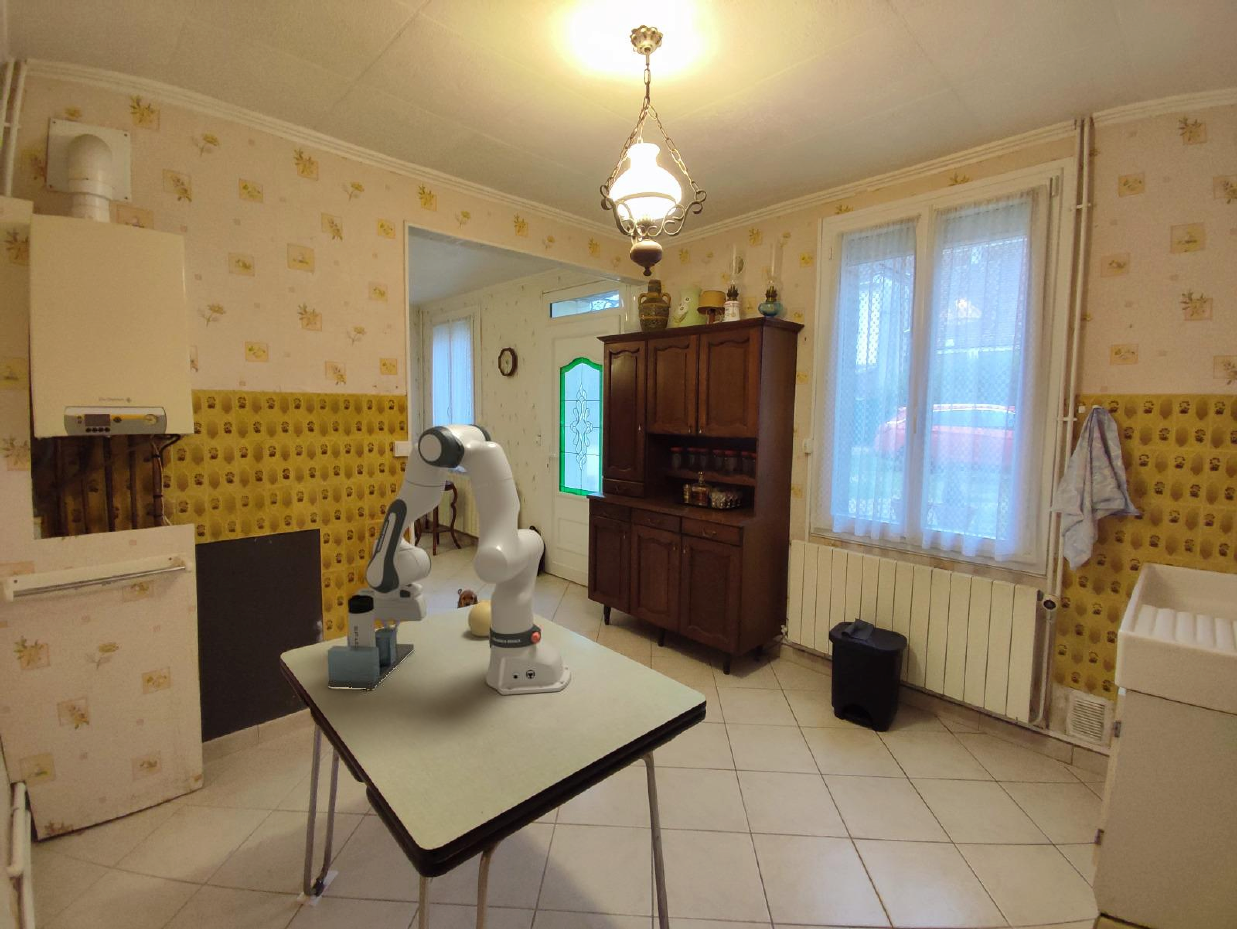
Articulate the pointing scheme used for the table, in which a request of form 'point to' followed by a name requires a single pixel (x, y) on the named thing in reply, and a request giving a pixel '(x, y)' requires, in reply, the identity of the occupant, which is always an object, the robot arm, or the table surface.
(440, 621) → the table surface
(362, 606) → the travel mug
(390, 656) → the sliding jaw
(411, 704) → the table surface
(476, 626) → the sculpture
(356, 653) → the vise
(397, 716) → the table surface
